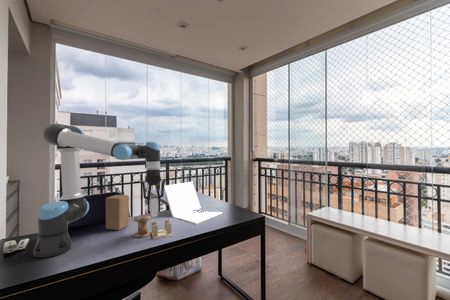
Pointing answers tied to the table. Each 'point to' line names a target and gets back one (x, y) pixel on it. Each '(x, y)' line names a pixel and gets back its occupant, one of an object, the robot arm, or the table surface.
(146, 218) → the spool
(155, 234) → the tan base with posts
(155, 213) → the tab
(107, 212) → the wooden block
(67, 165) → the robot arm
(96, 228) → the table surface
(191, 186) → the laptop
